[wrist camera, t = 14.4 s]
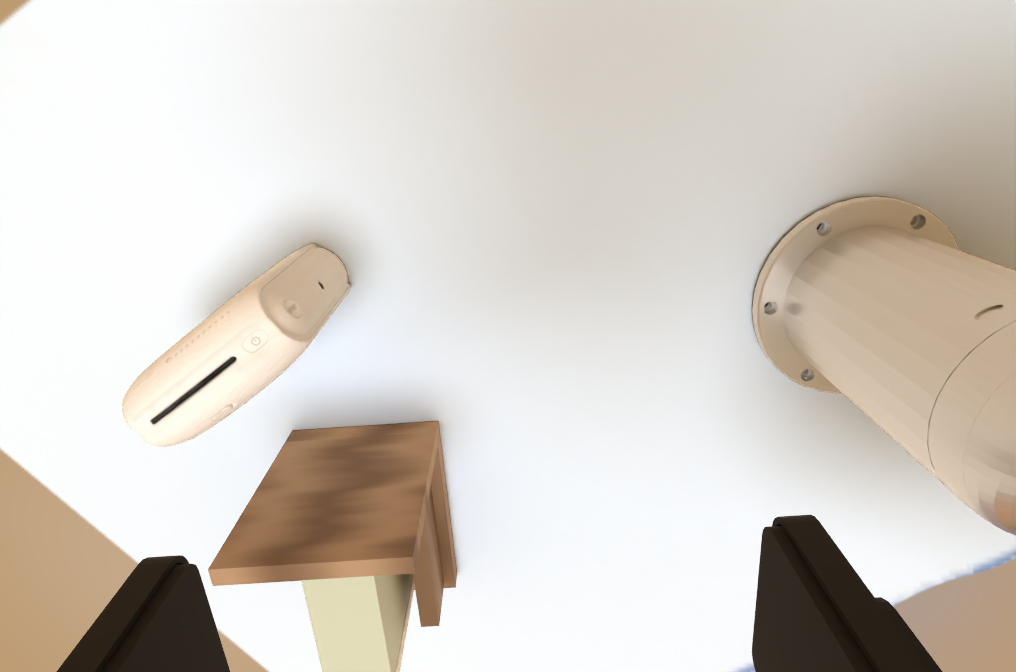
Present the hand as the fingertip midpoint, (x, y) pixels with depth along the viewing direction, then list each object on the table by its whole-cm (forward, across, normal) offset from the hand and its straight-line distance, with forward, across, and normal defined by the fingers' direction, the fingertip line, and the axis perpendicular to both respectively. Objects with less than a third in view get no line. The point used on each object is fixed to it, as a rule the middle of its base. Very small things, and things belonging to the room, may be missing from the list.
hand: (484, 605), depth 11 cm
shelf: (+30, +10, +19) cm, 37 cm away
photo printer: (+31, +14, +4) cm, 34 cm away
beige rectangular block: (+29, +10, +20) cm, 37 cm away
